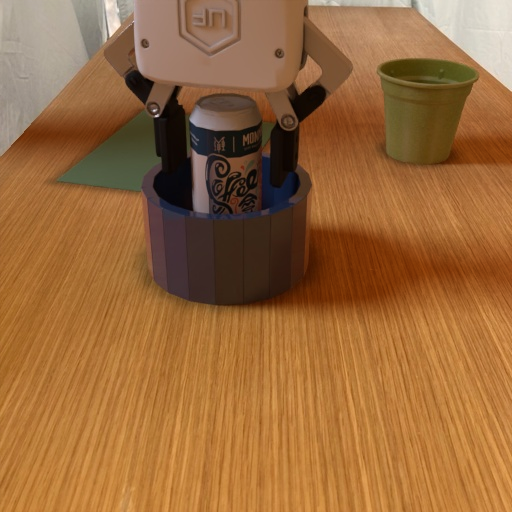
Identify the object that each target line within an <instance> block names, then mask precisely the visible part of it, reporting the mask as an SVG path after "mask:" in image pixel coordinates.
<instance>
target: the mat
mask: <svg viewBox="0 0 512 512" xmlns="http://www.w3.org/2000/svg"><path fill="white" fill-rule="evenodd" d="M189 116H190V114H186V113H185V117H186V137H187V153H189V152H190V153H191V151H190V129H189ZM275 124H276V122H270V121H269V122H268V121H262V150H263V149H264V148H265V146H266V145H267V143H268V142H269V141H270V134H271V130H272V129H273V127H274V126H275ZM159 163H161V157H157V155H156V147H155V134H154V120H153V117H150V116H149V115H148V114H147V113H146V110H145V109H143V110H141V111H140V113H138V114H136V116H134V117H133V118H131V120H129V121H128V122H127V123H126V124H124V125H123V126H122V127H120V129H118V130H117V131H115V132H114V133H113V134H112V135H110V136H109V137H108V138H106V139H105V140H104V142H101V144H99V145H98V146H97V147H95V148H94V149H93V150H92V151H90V152H89V153H88V154H86V156H85V157H82V158H81V160H80V161H78V162H77V163H76V164H75V165H73V166H72V167H71V168H70V169H69V170H67V171H66V172H64V173H63V174H62V175H61V176H59V178H57V179H56V180H55V182H57V183H65V184H73V185H82V186H89V187H97V188H104V189H105V188H106V189H113V190H122V191H127V192H128V191H129V192H135V193H141V185H142V181H143V177H144V175H145V174H146V173H147V172H148V171H149V170H150V169H151V168H152V167H153V166H155V165H157V164H159Z"/></svg>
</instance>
